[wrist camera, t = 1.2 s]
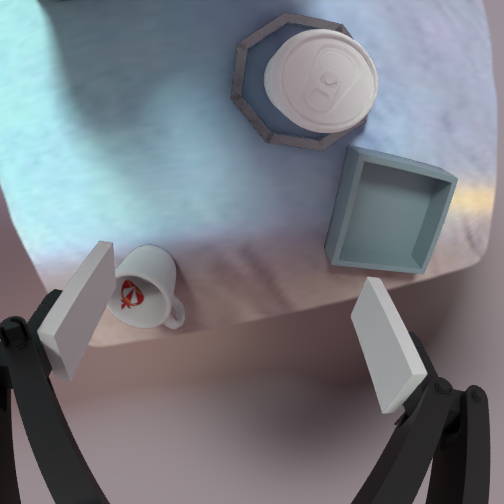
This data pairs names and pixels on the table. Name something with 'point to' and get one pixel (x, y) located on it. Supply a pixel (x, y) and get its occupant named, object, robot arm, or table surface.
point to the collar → (238, 80)
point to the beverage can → (322, 81)
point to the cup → (146, 290)
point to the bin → (387, 212)
